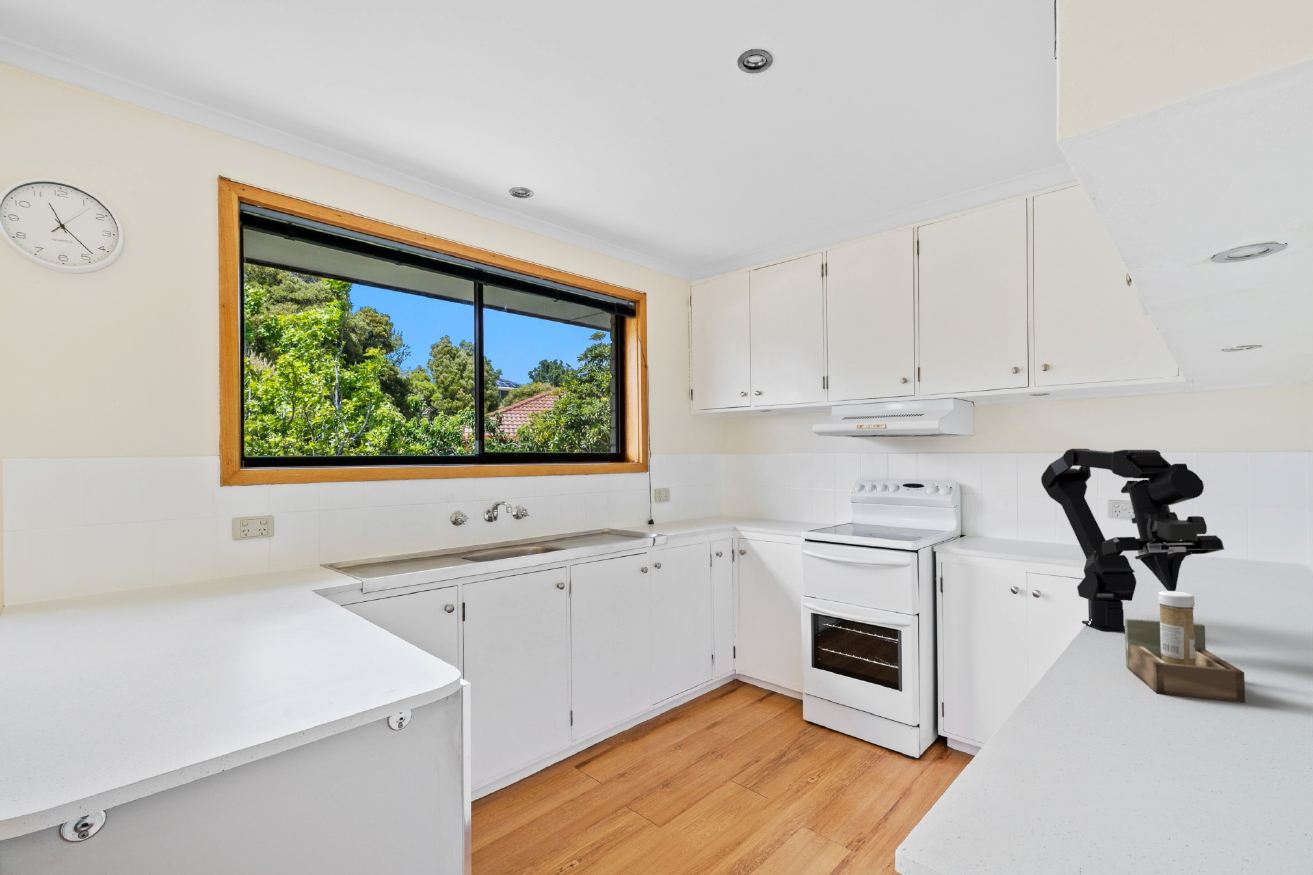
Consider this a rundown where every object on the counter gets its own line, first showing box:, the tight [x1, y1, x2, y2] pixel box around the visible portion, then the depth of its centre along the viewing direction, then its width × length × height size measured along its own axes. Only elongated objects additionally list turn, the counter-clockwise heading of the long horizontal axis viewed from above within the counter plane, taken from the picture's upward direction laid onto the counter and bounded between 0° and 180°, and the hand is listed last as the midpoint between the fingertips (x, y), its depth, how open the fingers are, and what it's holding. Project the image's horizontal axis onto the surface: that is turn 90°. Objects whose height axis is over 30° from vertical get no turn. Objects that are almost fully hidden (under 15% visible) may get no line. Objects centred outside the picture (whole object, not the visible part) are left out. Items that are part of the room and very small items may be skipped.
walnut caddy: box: [1128, 644, 1246, 703], centre depth 103 cm, size 12×11×4 cm
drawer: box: [1124, 618, 1226, 670], centre depth 104 cm, size 12×11×8 cm
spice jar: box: [1157, 590, 1195, 666], centre depth 103 cm, size 5×5×13 cm
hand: (1171, 591), depth 121 cm, fingers closed
